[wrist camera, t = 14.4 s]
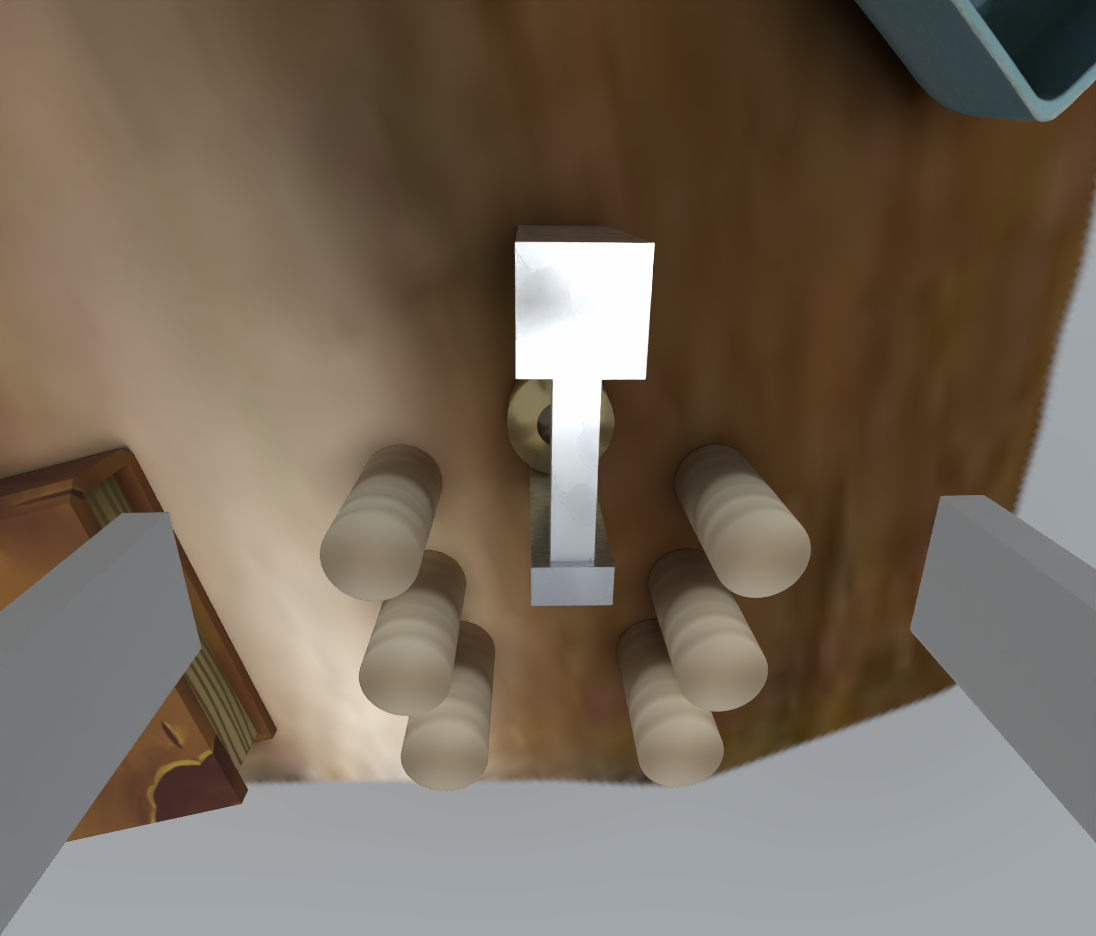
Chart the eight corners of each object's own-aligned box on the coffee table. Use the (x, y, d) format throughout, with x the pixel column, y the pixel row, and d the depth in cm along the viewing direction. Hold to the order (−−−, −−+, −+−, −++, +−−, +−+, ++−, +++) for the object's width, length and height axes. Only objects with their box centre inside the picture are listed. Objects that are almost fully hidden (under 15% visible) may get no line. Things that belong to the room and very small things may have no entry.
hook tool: (518, 224, 31) (515, 242, 20) (607, 226, 31) (654, 243, 20) (519, 487, 35) (517, 621, 24) (596, 487, 36) (629, 620, 24)
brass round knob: (510, 356, 33) (508, 369, 31) (612, 362, 33) (619, 375, 31) (506, 453, 35) (505, 473, 32) (604, 457, 35) (609, 477, 33)
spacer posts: (360, 445, 34) (314, 514, 27) (755, 444, 35) (817, 511, 28) (383, 680, 40) (350, 792, 32) (725, 676, 40) (770, 785, 33)
